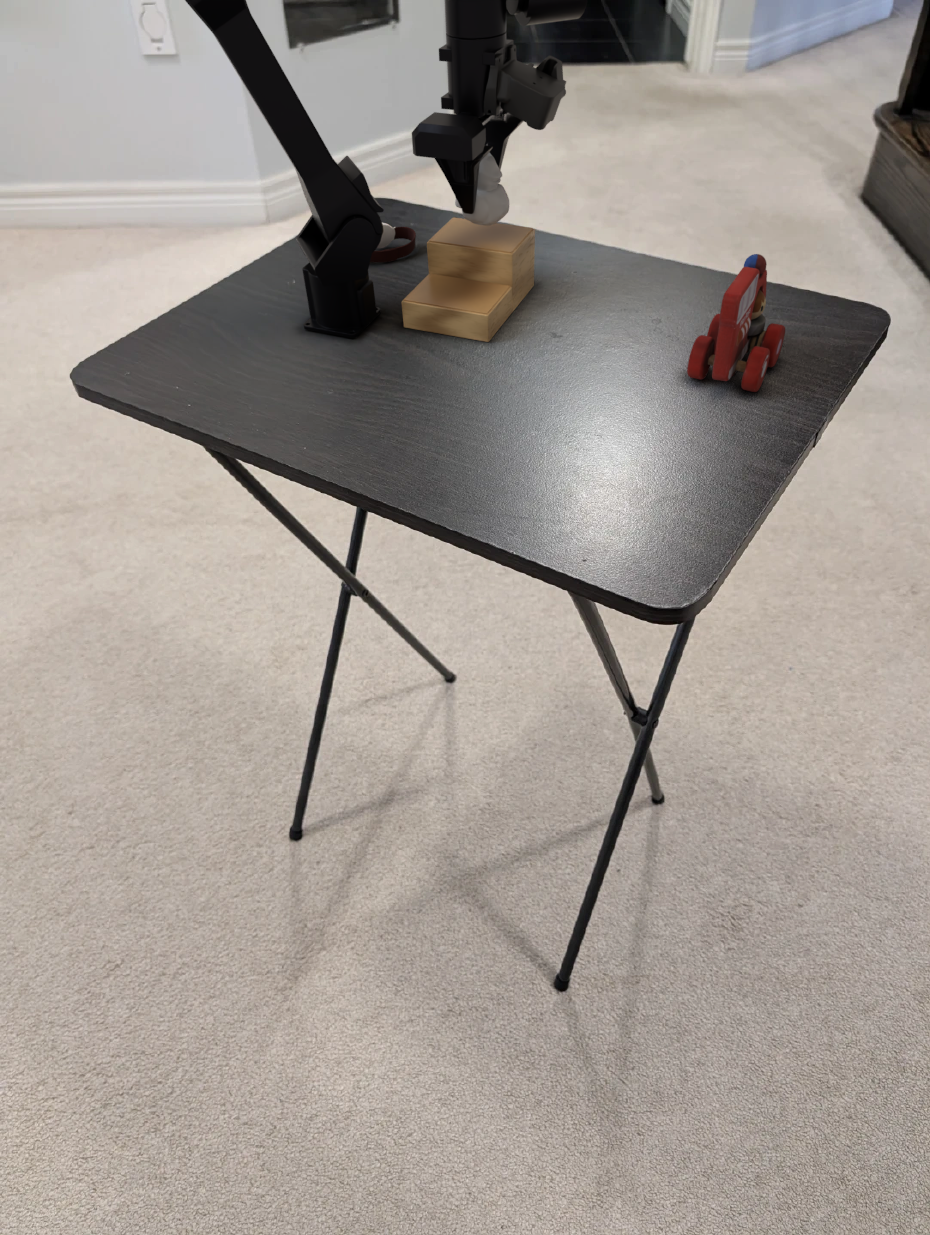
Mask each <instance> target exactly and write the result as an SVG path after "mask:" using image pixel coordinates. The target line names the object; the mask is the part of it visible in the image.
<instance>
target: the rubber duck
mask: <svg viewBox="0 0 930 1235" xmlns="http://www.w3.org/2000/svg"><path fill="white" fill-rule="evenodd" d="M486 146H488V145H486ZM502 177H503V172H502V171H501V170H500V169H499V167H498V165H497V164H496V161H495V159H494V157H493V156H492V155H491V154H490V152H489V153H488V154H487V155H486V156H485V157H484V158H483V159H482V160H481V162H480V165H479V176H478V186H477V196H476V204H475V211H474V213H473V214H466V213H464V212H463V210H462V208H461V206H460V204H459V202H458V200H457V199H456V198H455V201H454V205H455V207H456V208H458V209H461V213H462V216H463V219H466V220H469V221H471V222H472V223H474V224H478V225H484V226H489V225H493V224H495V223H499V222H500V221H501V220H502V219H503V218H505V216H506V215H507V214H508V213H509V211H510V198H509V195H508V193H507V191H506V189H505V187H504V186H503V185H502V184H501V181H502V180H501V178H502Z"/></svg>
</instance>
